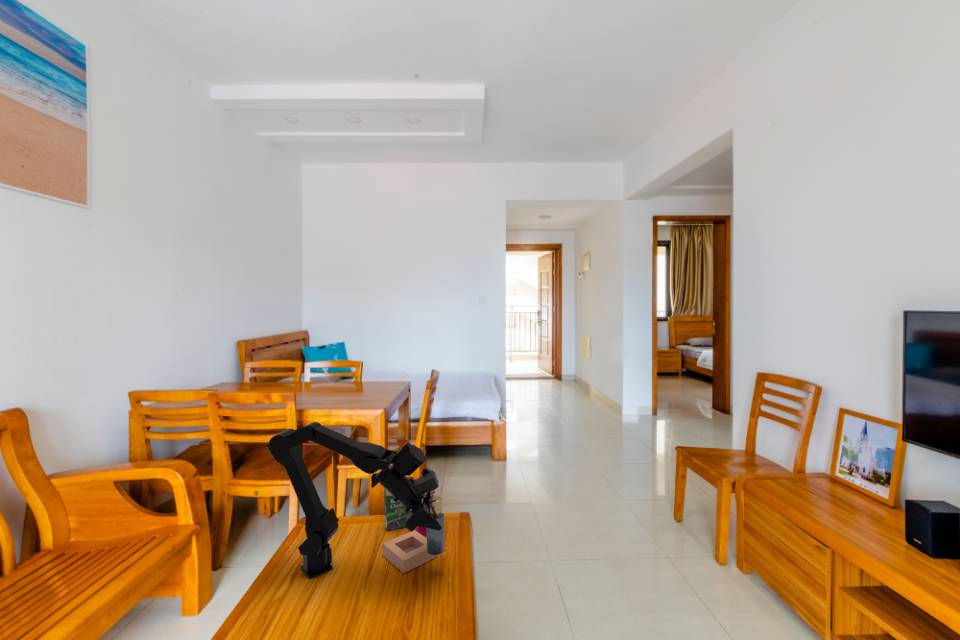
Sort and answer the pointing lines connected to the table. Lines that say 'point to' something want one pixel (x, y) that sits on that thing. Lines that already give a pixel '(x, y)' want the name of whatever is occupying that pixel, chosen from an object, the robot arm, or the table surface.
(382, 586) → the table surface
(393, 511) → the coffee box
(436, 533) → the tube
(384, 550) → the socket block
